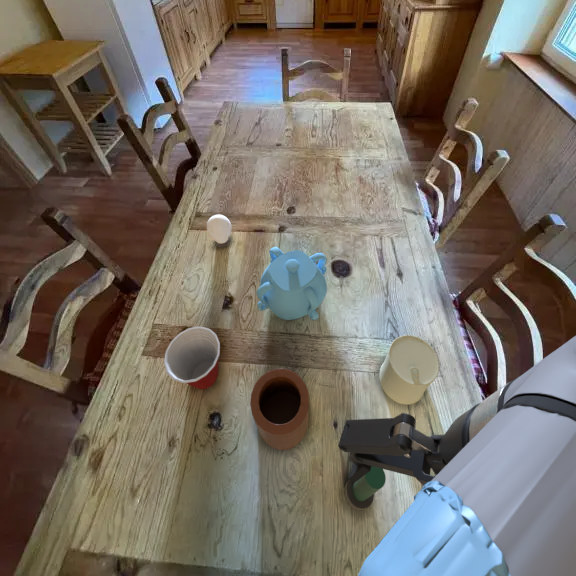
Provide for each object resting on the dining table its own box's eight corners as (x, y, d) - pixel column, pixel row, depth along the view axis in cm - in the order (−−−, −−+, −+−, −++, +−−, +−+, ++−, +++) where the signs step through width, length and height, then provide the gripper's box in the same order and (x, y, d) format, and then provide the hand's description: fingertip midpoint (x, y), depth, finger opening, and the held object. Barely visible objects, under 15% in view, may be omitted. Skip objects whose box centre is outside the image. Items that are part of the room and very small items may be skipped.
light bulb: (227, 230, 103) (221, 205, 95) (239, 244, 99) (233, 219, 91) (207, 241, 100) (199, 216, 92) (218, 256, 96) (210, 231, 88)
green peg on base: (367, 516, 57) (390, 505, 42) (341, 504, 58) (354, 489, 43) (372, 483, 60) (395, 462, 45) (347, 472, 61) (361, 448, 46)
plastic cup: (213, 338, 79) (202, 314, 71) (239, 376, 73) (230, 354, 65) (170, 371, 74) (153, 349, 66) (194, 415, 68) (179, 396, 60)
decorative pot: (315, 335, 79) (317, 307, 70) (251, 315, 83) (245, 285, 74) (331, 277, 90) (335, 245, 81) (274, 261, 94) (272, 230, 85)
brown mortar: (298, 459, 63) (297, 445, 54) (249, 437, 65) (240, 420, 56) (314, 401, 69) (316, 380, 60) (269, 383, 72) (264, 360, 63)
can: (380, 401, 69) (390, 381, 61) (378, 354, 75) (387, 330, 67) (427, 408, 68) (444, 388, 59) (421, 359, 74) (435, 336, 66)
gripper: (725, 503, 22) (537, 529, 36) (362, 327, 29) (321, 407, 43) (795, 684, 17) (543, 632, 31) (331, 419, 24) (297, 475, 38)
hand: (414, 502), depth 37 cm, fingers open, 13 cm apart
